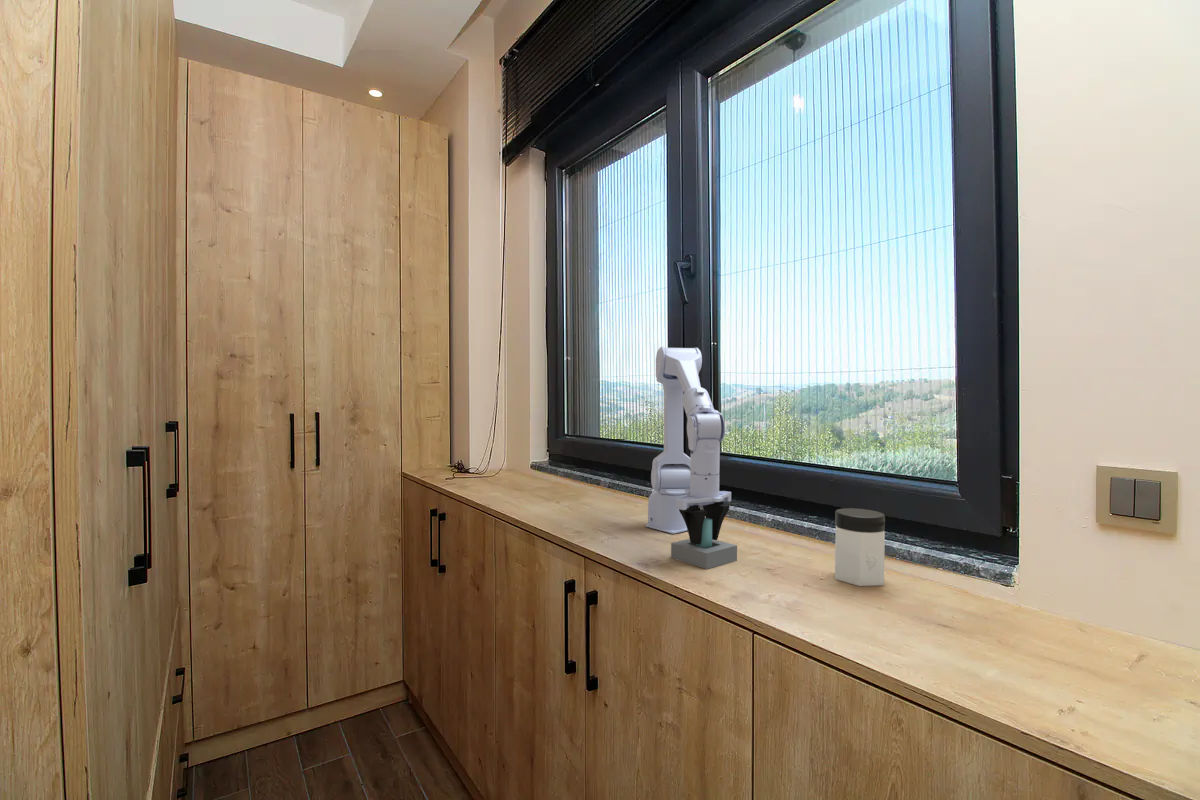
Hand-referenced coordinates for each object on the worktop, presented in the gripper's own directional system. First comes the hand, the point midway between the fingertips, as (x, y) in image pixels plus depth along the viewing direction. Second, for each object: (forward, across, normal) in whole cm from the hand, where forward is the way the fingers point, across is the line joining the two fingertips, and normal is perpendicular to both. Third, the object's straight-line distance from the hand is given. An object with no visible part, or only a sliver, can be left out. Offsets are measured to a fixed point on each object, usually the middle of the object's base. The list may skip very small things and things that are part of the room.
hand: (704, 541), depth 113 cm
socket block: (+4, 0, 0) cm, 4 cm away
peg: (+4, 0, 0) cm, 4 cm away
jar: (+4, +13, -25) cm, 28 cm away
